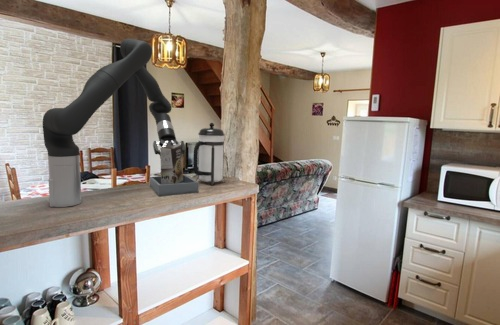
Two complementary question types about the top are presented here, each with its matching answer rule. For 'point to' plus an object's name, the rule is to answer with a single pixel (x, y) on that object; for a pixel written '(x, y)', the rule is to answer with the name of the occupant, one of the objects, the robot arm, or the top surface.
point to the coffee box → (171, 164)
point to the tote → (174, 186)
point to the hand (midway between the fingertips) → (172, 160)
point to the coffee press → (209, 155)
